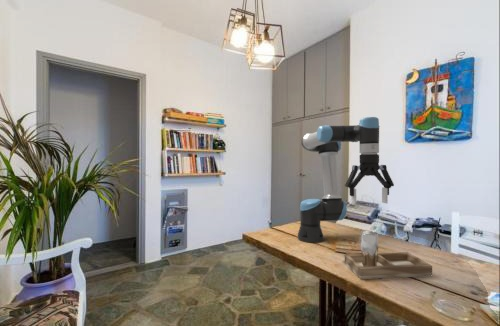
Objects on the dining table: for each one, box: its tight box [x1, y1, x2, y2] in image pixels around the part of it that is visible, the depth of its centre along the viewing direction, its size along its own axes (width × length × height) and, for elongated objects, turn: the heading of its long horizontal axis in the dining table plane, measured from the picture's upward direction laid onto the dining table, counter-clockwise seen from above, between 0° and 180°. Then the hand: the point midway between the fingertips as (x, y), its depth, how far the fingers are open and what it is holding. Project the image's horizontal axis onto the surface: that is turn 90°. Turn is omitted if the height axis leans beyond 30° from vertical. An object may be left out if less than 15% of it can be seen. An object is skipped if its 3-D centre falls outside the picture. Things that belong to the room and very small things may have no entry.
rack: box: [344, 251, 433, 280], centre depth 103 cm, size 14×30×4 cm, turn 93°
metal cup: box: [360, 229, 379, 267], centre depth 103 cm, size 7×7×15 cm
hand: (369, 203), depth 103 cm, fingers open, 13 cm apart
